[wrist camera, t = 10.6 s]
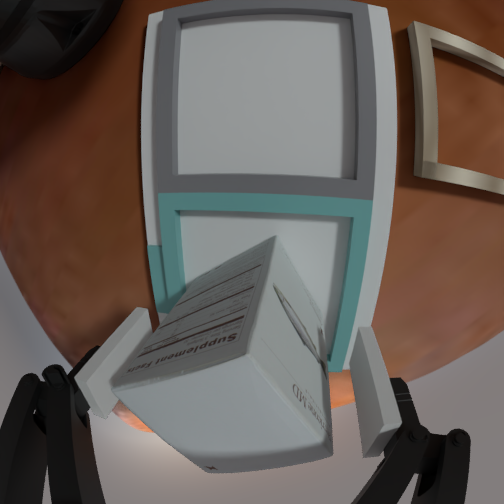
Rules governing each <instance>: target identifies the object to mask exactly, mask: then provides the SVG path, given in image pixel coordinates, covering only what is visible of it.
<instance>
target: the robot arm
mask: <svg viewBox="0 0 504 504" xmlns="http://www.w3.org/2000/svg"><path fill="white" fill-rule="evenodd" d="M122 1H123V0H0V63H2V64H4V65H5V66H7V67H9V68H10V69H12V70H14V71H15V72H17V73H19V74H20V75H22V76H24V77H27V78H35V79H50V78H53V77H56V76H58V75H60V74H62V73H63V72H65V71H66V70H68V69H69V68H71V67H72V66H73V65H74V64H76V63H77V62H78V61H79V60H80V59H81V58H82V57H83V56H84V55H85V54H86V53H87V52H88V51H89V50H90V49H91V48H92V47H93V46H94V44H95V43H96V42H97V41H98V40H99V38H100V37H101V36H102V35H103V33H104V32H105V31H106V29H107V28H108V26H109V25H110V23H111V22H112V20H113V18H114V17H115V15H116V13H117V12H118V10H119V8H120V6H121V4H122ZM152 335H153V332H152V327H151V323H150V318H149V313H148V309H146V308H140V307H137V308H136V309H135V310H134V311H133V312H132V313H131V314H130V315H129V316H128V317H127V318H126V319H125V321H124V322H123V323H122V324H121V325H120V326H119V327H118V328H117V329H116V330H115V331H114V333H113V334H112V335H111V336H110V337H109V338H108V339H107V340H106V341H105V343H104V344H103V345H102V346H95V347H94V348H92V349H90V350H89V351H88V352H87V353H86V355H85V357H83V358H82V359H81V360H80V361H79V362H78V363H77V365H76V366H75V367H74V368H73V369H72V370H71V371H70V373H69V374H68V375H67V374H66V372H65V371H64V368H63V367H62V366H60V365H57V364H54V365H50V366H48V367H46V368H45V369H44V371H43V372H42V376H43V378H44V380H45V382H43V381H40V379H39V378H38V376H37V375H36V374H33V373H29V374H26V375H24V376H23V377H22V378H21V380H20V381H19V383H18V386H17V388H16V390H15V392H14V395H13V397H12V399H11V402H10V404H9V407H8V409H7V412H6V414H5V417H4V420H3V423H2V425H1V428H0V504H42V499H43V490H44V482H45V475H46V470H47V465H48V475H49V486H50V494H51V501H52V504H106V503H105V499H104V496H103V492H102V488H101V484H100V479H99V475H98V471H97V465H96V460H95V455H94V448H93V443H92V435H91V428H90V419H89V414H88V412H87V411H88V410H89V408H91V410H92V412H93V413H94V415H96V416H99V417H101V418H104V419H106V418H107V417H108V415H109V414H110V412H111V411H112V409H113V408H114V406H115V405H116V403H117V402H118V400H119V399H118V398H117V397H116V396H115V395H114V394H113V392H112V391H111V388H112V386H113V385H114V384H115V383H116V381H117V380H118V379H119V378H120V377H121V376H122V374H123V373H124V372H125V371H126V369H127V368H128V367H129V365H130V364H131V363H132V361H133V360H134V359H135V357H136V356H137V355H138V353H139V352H140V351H141V349H142V348H143V347H144V345H145V344H146V343H147V341H148V340H149V339H150V337H151V336H152ZM349 367H350V372H351V378H352V383H353V389H354V395H355V401H356V408H357V415H358V421H359V429H360V436H361V443H362V453H363V458H367V457H376V456H380V454H381V453H382V451H383V450H384V456H385V458H384V459H383V460H382V462H381V463H380V464H379V466H377V469H376V471H375V472H374V474H373V475H372V477H371V478H370V479H369V481H368V482H367V484H366V485H365V486H364V488H363V489H362V490H361V492H360V493H359V495H358V496H357V497H356V498H355V499H354V501H353V502H352V503H351V504H397V502H398V501H399V499H400V498H401V496H402V494H403V493H404V491H405V489H406V487H407V486H408V484H409V482H410V481H411V479H412V477H413V475H414V473H417V474H419V475H418V479H417V483H416V487H415V491H414V494H413V498H412V501H411V504H464V502H465V495H466V489H467V482H468V473H469V462H470V444H471V440H470V436H469V435H468V433H467V432H466V431H464V430H462V429H454V430H451V431H450V432H449V433H448V434H447V435H439V434H432V433H430V432H429V431H428V429H427V428H425V427H424V426H422V425H420V423H419V419H418V416H417V413H416V410H415V407H414V404H413V401H412V398H411V395H410V394H409V393H410V392H409V389H408V386H407V384H406V383H405V382H404V381H403V380H402V379H401V377H400V378H389V376H388V373H387V370H386V367H385V364H384V361H383V358H382V355H381V352H380V349H379V346H378V343H377V340H376V337H375V335H374V332H373V329H372V327H358V331H357V335H356V339H355V343H354V347H353V351H352V355H351V358H350V362H349ZM34 410H36V411H35V414H33V413H34Z"/></svg>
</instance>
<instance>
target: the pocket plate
mask: <svg viewBox="0 0 504 504" xmlns="http://www.w3.org/2000/svg"><path fill="white" fill-rule="evenodd" d="M396 151H397V98H396V78H395V65H394V55H393V46H392V38H391V31H390V24H389V18H388V12H387V8H383V7H378V6H374V5H368V4H367V3H361V2H355V1H349V0H213V1H206V2H200V3H194V4H189V5H184V6H179V7H175V8H170V9H166V10H164V11H161V12H157V13H153V14H150V15H149V19H148V26H147V34H146V43H145V54H144V66H143V82H142V106H141V155H142V181H143V197H144V211H145V222H146V232H147V242H148V246H147V249H148V257H149V265H150V272H151V279H152V285H153V292H154V298H155V304H156V309H157V312H158V316H159V322H160V324H161V323H162V321H163V320H164V319H165V318H166V316H167V315H168V314H169V312H170V311H171V310H172V308H173V307H174V306H175V305H176V303H177V302H178V301H179V299H180V298H181V297H182V296H183V294H184V293H185V292H186V291H187V290H188V289H189V287H190V286H191V285H192V283H193V282H194V281H195V280H196V279H197V277H199V276H201V275H203V274H204V273H206V272H208V271H210V270H212V269H214V268H216V267H217V266H219V265H221V264H223V263H225V262H227V261H229V260H231V259H233V258H234V257H236V256H238V255H240V254H242V253H244V252H246V251H247V250H249V249H251V248H253V247H255V246H257V245H259V244H260V243H262V242H264V241H266V240H268V239H270V238H271V237H273V236H275V235H278V236H279V238H280V240H281V242H282V244H283V246H284V248H285V250H286V252H287V253H288V255H289V257H290V259H291V261H292V263H293V264H294V266H295V268H296V270H297V272H298V273H299V275H300V277H301V279H302V280H303V282H304V284H305V286H306V287H307V289H308V291H309V292H310V294H311V296H312V297H313V299H314V301H315V302H316V304H317V305H318V307H319V309H320V310H321V312H322V316H323V324H324V333H325V343H326V352H327V363H328V372H342V369H350V367H349V362H350V358H351V355H352V351H353V347H354V343H355V339H356V335H357V331H358V327H370V326H371V322H372V319H373V314H374V310H375V306H376V302H377V297H378V293H379V288H380V283H381V278H382V273H383V268H384V262H385V257H386V251H387V244H388V238H389V231H390V223H391V215H392V206H393V196H394V185H395V171H396Z"/></svg>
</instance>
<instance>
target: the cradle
mask: <svg viewBox="0 0 504 504" xmlns="http://www.w3.org/2000/svg"><path fill="white" fill-rule="evenodd" d="M407 30H408V36H409V43H410V50H411V58H412V68H413V79H414V95H415V159H414V176H418V177H422V178H428V179H434V180H440V181H445V182H450V183H455V184H460V185H465V186H470V187H474V188H479V189H483V190H487V191H491V192H495V193H499V194H503V195H504V180H503V179H500V178H496V177H493V176H489V175H486V174H482V173H478V172H474V171H470V170H466V169H462V168H458V167H454V166H449V165H445V164H440V163H437V154H438V107H437V89H436V77H435V68H434V60H433V52H432V47H435V48H438V49H441V50H443V51H446V52H449V53H452V54H454V55H457V56H459V57H462V58H464V59H467V60H469V61H471V62H474V63H476V64H478V65H480V66H483V67H485V68H487V69H489V70H491V71H493V72H495V73H497V74H499V75H501V76H503V77H504V59H503V58H501V57H500V56H498V55H496V54H494V53H492V52H490V51H488V50H486V49H484V48H482V47H480V46H478V45H476V44H474V43H472V42H470V41H467V40H465V39H463V38H460V37H458V36H456V35H453V34H451V33H448V32H445V31H443V30H440V29H437V28H434V27H432V26H429V25H426V24H422V23H419V22H416V21H413V22H412V23H411V24H410V25H409V26H408V27H407Z"/></svg>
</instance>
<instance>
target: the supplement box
mask: <svg viewBox="0 0 504 504" xmlns="http://www.w3.org/2000/svg"><path fill="white" fill-rule="evenodd" d="M111 391H112V392H113V394H114V395H115V396H116V397H117V398H118V399H119V400H120V401H121V402H122V403H123V404H124V405H125V406H126V407H127V408H128V409H129V410H130V411H131V412H132V413H134V414H135V415H136V416H137V417H138V418H139V419H140V420H141V421H142V422H143V423H144V424H145V425H147V426H148V427H149V428H150V429H151V430H152V431H154V432H155V433H156V434H157V435H158V436H159V437H161V438H162V439H163V440H164V441H165V442H167V443H168V444H169V445H170V446H172V447H173V448H174V449H176V450H177V451H178V452H180V453H181V454H182V455H184V456H185V457H186V458H188V459H189V460H190V461H192V462H193V463H194V464H196V465H197V466H199V467H200V468H202V469H203V470H204V471H205V472H208V473H237V472H248V471H258V470H265V469H273V468H280V467H285V466H292V465H297V464H303V463H307V462H312V461H316V460H320V459H324V458H327V457H330V456H332V455H333V441H332V440H333V439H332V419H331V403H330V388H329V375H328V363H327V352H326V343H325V333H324V324H323V316H322V312H321V310H320V309H319V307H318V305H317V304H316V302H315V301H314V299H313V297H312V296H311V294H310V292H309V291H308V289H307V287H306V286H305V284H304V282H303V280H302V279H301V277H300V275H299V273H298V272H297V270H296V268H295V266H294V264H293V263H292V261H291V259H290V257H289V255H288V253H287V252H286V250H285V248H284V246H283V244H282V242H281V240H280V238H279V236H278V235H275V236H273V237H271V238H270V239H268V240H266V241H264V242H262V243H260V244H259V245H257V246H255V247H253V248H251V249H249V250H247V251H246V252H244V253H242V254H240V255H238V256H236V257H234V258H233V259H231V260H229V261H227V262H225V263H223V264H221V265H219V266H217V267H216V268H214V269H212V270H210V271H208V272H206V273H204V274H203V275H201V276H199V277H197V279H196V280H195V281H194V282H193V283H192V285H191V286H190V287H189V289H188V290H187V291H186V292H185V293H184V294H183V296H182V297H181V298H180V299H179V301H178V302H177V303H176V305H175V306H174V307H173V308H172V310H171V311H170V312H169V314H168V315H167V316H166V318H165V319H164V320H163V321H162V323H161V324H160V325H159V327H158V328H157V329H156V331H155V332H154V333H153V335H152V336H151V337H150V339H149V340H148V341H147V343H146V344H145V345H144V347H143V348H142V349H141V351H140V352H139V353H138V355H137V356H136V357H135V359H134V360H133V361H132V363H131V364H130V365H129V367H128V368H127V369H126V371H125V372H124V373H123V374H122V376H121V377H120V378H119V379H118V380H117V381H116V383H115V384H114V385H113V386H112V388H111Z"/></svg>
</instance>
